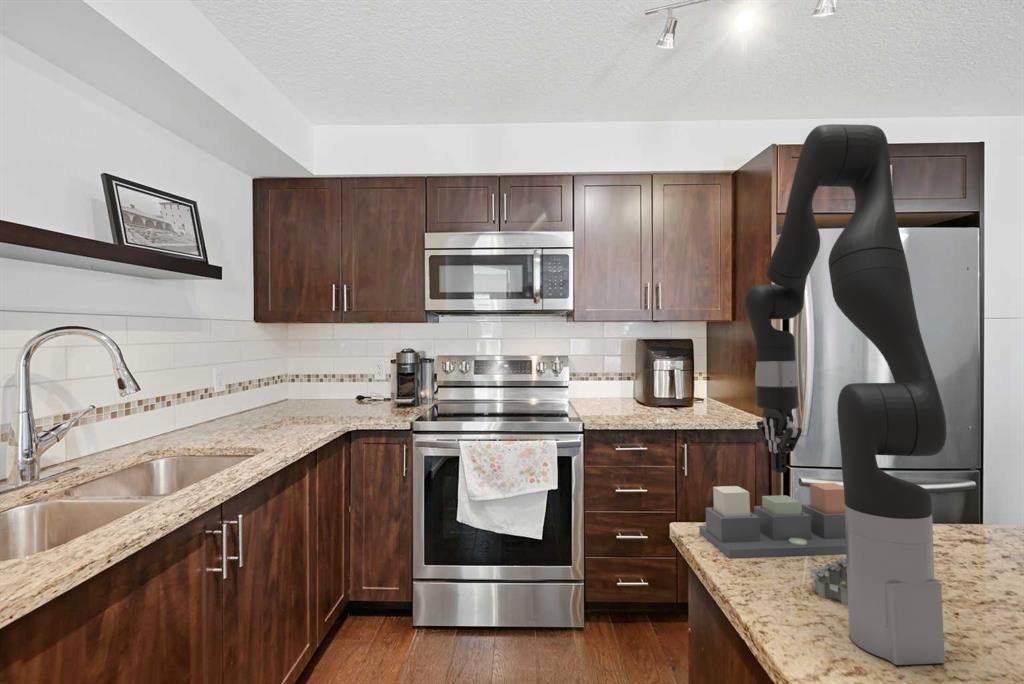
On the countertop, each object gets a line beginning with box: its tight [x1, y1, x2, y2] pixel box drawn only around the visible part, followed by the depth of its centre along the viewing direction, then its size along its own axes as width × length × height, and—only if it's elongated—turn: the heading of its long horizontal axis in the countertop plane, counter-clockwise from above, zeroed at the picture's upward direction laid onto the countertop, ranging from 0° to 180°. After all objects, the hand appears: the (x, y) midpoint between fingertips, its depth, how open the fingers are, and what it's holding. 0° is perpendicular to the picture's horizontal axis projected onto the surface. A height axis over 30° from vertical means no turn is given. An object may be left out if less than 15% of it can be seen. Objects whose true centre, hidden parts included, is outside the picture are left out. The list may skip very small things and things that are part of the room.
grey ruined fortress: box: [810, 556, 848, 607], centre depth 84 cm, size 11×8×4 cm
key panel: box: [698, 503, 846, 559], centre depth 106 cm, size 14×28×6 cm, turn 92°
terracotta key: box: [809, 482, 845, 514], centre depth 107 cm, size 5×5×6 cm
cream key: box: [712, 485, 751, 517], centre depth 106 cm, size 5×5×6 cm
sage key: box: [761, 494, 802, 516], centre depth 106 cm, size 5×5×6 cm
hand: (779, 471), depth 106 cm, fingers closed
